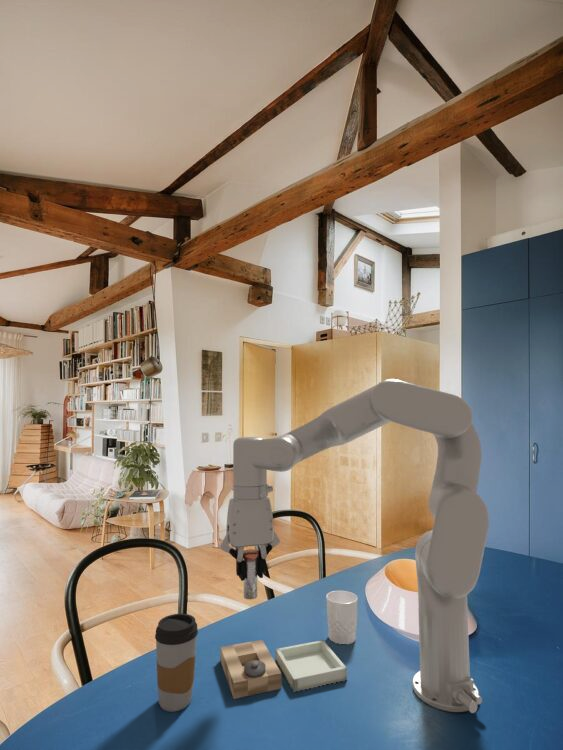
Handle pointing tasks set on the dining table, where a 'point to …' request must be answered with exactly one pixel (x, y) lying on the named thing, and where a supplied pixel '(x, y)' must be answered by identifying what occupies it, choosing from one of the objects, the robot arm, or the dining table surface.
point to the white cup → (342, 616)
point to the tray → (310, 665)
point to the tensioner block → (249, 668)
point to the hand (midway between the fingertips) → (250, 576)
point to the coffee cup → (175, 660)
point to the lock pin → (250, 573)
